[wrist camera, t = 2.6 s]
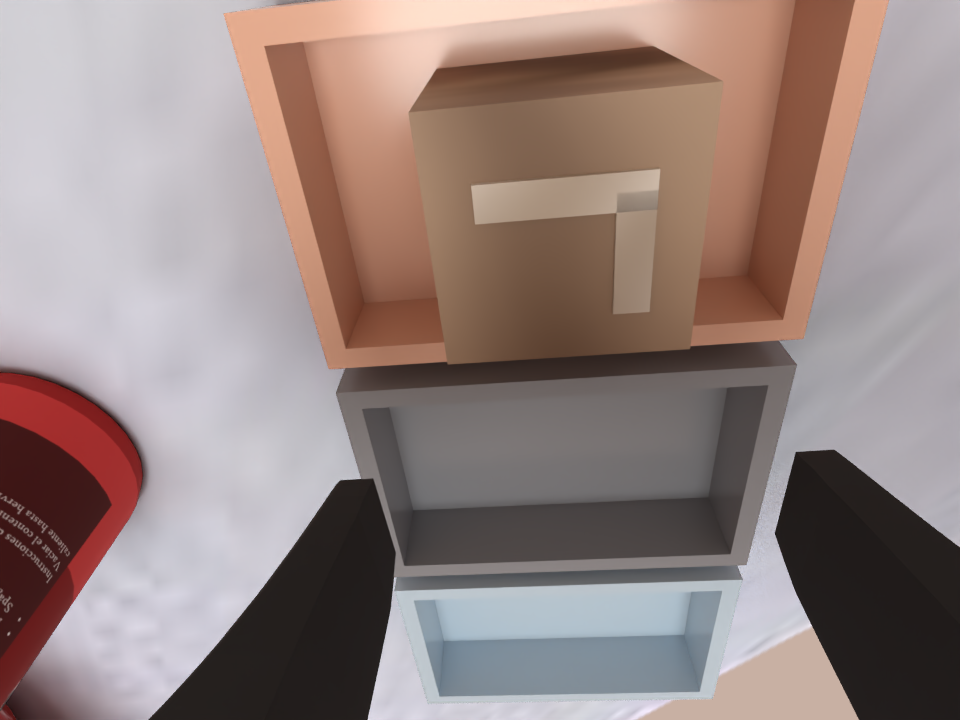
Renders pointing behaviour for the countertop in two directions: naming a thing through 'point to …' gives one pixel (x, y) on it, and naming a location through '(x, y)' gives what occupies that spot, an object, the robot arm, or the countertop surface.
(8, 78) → the countertop surface
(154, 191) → the countertop surface
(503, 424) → the dish charcoal
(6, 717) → the mixing bowl
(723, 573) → the dish blue
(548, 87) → the letter cube
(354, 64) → the dish terracotta
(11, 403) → the canned food
